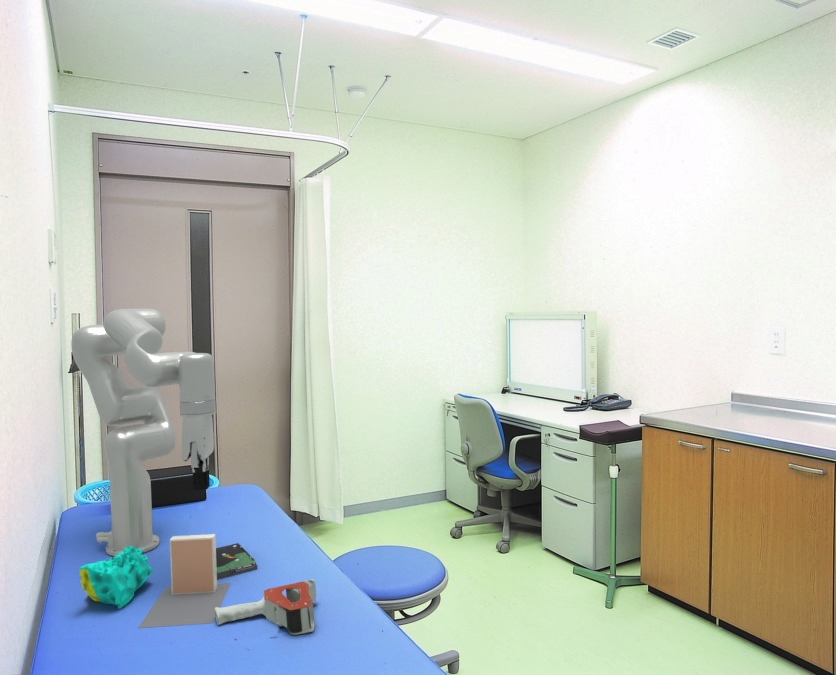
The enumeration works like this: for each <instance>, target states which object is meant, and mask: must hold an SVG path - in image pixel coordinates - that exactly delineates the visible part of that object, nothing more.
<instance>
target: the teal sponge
mask: <svg viewBox="0 0 836 675" xmlns="http://www.w3.org/2000/svg"><path fill="white" fill-rule="evenodd" d="M148 561H149V558H148V556H146V555H143V553H142V549H141V548H140V549H135V547H134V546H128V547H125V548H124V551H122V552H121V553H118V554H117V555H116V556H112V557H110V558H106V559H105V560H100V561H98V560H97V561H95V562H93V563H86V564H83V565H82V566H80V567H79V569H78V572H79V577H80V581H79V582H80V585H81V589H82V590H84V591H85V593H86V595H87V596H88V597H89V598H91V600H93V601H95V602H100V603H102V604H107V605H108V604H110V605H111V604H112V605H113V606H117V609H122V608H123V607H125V606H126V605H127V604H128V603H129V602H130V601H131V600H132V599H133V597H134V596H135V592H136V591H137V590H138V589H140V588H141V587H142V585H144V584H145V582H146V581H147V579H149V578H150V576H151V575H152V573H153V571H154V570H153V568H152V567H151V566H150V565H149V563H148Z"/></svg>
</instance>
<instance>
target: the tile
mask: <svg viewBox="0 0 836 675" xmlns="http://www.w3.org/2000/svg"><path fill="white" fill-rule="evenodd" d="M216 541H217V539H216V533H210V534H190V535H172V537H171V538H170V539H169V554H170V579H171V581H170V582H171V583H170V584H171V585H170V587H172V595H177V594H193V593H209V592H215V591H216V589H217V584H218V580H217V567H216V548H217V546H216V545H217V542H216Z"/></svg>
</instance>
